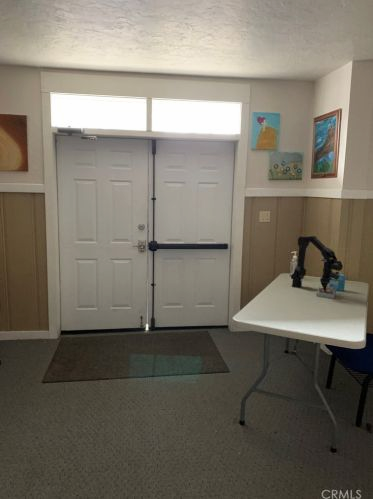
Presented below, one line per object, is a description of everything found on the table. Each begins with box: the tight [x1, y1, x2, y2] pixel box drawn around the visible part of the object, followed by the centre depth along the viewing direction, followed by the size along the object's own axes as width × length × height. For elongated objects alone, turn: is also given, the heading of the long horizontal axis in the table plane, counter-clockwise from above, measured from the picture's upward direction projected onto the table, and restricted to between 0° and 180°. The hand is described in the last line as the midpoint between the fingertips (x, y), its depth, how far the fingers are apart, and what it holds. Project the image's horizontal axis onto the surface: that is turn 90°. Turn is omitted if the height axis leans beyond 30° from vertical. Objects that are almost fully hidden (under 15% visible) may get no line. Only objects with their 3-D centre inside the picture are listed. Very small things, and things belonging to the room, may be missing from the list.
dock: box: [315, 289, 337, 300], centre depth 284 cm, size 12×10×4 cm
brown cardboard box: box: [318, 285, 334, 294], centre depth 284 cm, size 9×5×4 cm, turn 63°
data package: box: [329, 273, 346, 292], centre depth 301 cm, size 12×4×12 cm, turn 64°
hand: (325, 289), depth 284 cm, fingers open, 9 cm apart
